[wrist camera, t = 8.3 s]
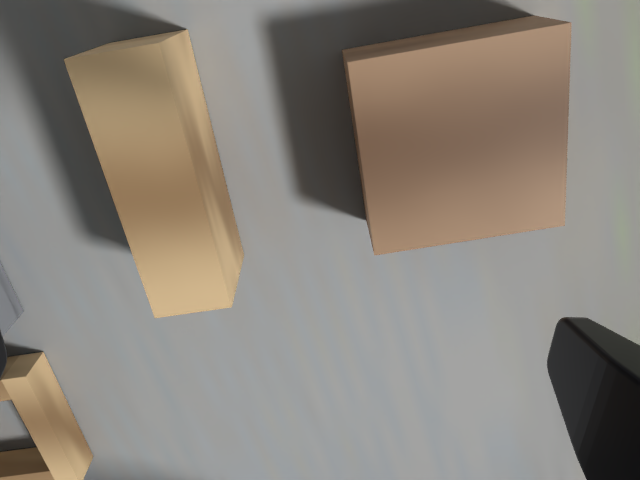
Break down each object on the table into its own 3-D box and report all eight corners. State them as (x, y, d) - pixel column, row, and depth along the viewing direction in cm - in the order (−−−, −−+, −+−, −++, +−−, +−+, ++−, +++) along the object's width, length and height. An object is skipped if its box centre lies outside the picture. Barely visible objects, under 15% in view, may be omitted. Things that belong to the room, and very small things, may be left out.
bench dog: (244, 255, 20) (231, 307, 17) (178, 265, 20) (155, 318, 17) (187, 29, 17) (159, 42, 14) (109, 43, 17) (63, 59, 14)
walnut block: (529, 191, 20) (564, 225, 17) (365, 217, 20) (374, 255, 17) (530, 14, 17) (571, 22, 14) (341, 48, 17) (347, 62, 15)
